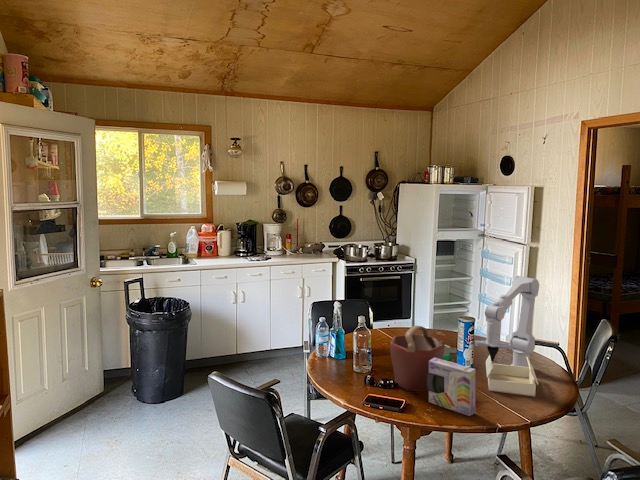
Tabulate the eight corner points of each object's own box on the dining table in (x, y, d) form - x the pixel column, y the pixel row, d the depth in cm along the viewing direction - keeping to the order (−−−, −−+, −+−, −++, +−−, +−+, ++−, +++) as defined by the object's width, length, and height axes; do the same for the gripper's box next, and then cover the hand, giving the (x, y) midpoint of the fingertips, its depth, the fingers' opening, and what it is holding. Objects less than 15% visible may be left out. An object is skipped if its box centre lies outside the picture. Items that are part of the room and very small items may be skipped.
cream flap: (537, 384, 201) (538, 384, 201) (531, 373, 202) (532, 373, 201) (531, 367, 220) (532, 366, 220) (526, 357, 221) (527, 356, 220)
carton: (487, 373, 226) (487, 362, 226) (529, 378, 221) (530, 367, 221) (488, 390, 207) (489, 379, 207) (535, 396, 202) (535, 384, 202)
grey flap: (486, 362, 226) (485, 361, 226) (491, 352, 225) (490, 352, 225) (488, 378, 207) (486, 378, 207) (493, 368, 206) (492, 368, 206)
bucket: (419, 399, 198) (422, 339, 195) (375, 383, 213) (377, 327, 210) (450, 382, 216) (453, 326, 213) (408, 368, 231) (409, 316, 228)
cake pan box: (425, 401, 197) (426, 358, 195) (432, 397, 200) (433, 355, 198) (469, 418, 183) (471, 372, 181) (475, 413, 187) (478, 368, 185)
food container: (430, 361, 241) (430, 341, 239) (440, 360, 243) (441, 340, 242) (445, 370, 229) (445, 349, 228) (456, 369, 231) (457, 348, 230)
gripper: (476, 333, 212) (474, 364, 214) (512, 337, 208) (510, 368, 209) (475, 329, 219) (474, 359, 220) (510, 332, 215) (509, 362, 216)
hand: (491, 363), depth 215 cm, fingers closed, pressing on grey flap
